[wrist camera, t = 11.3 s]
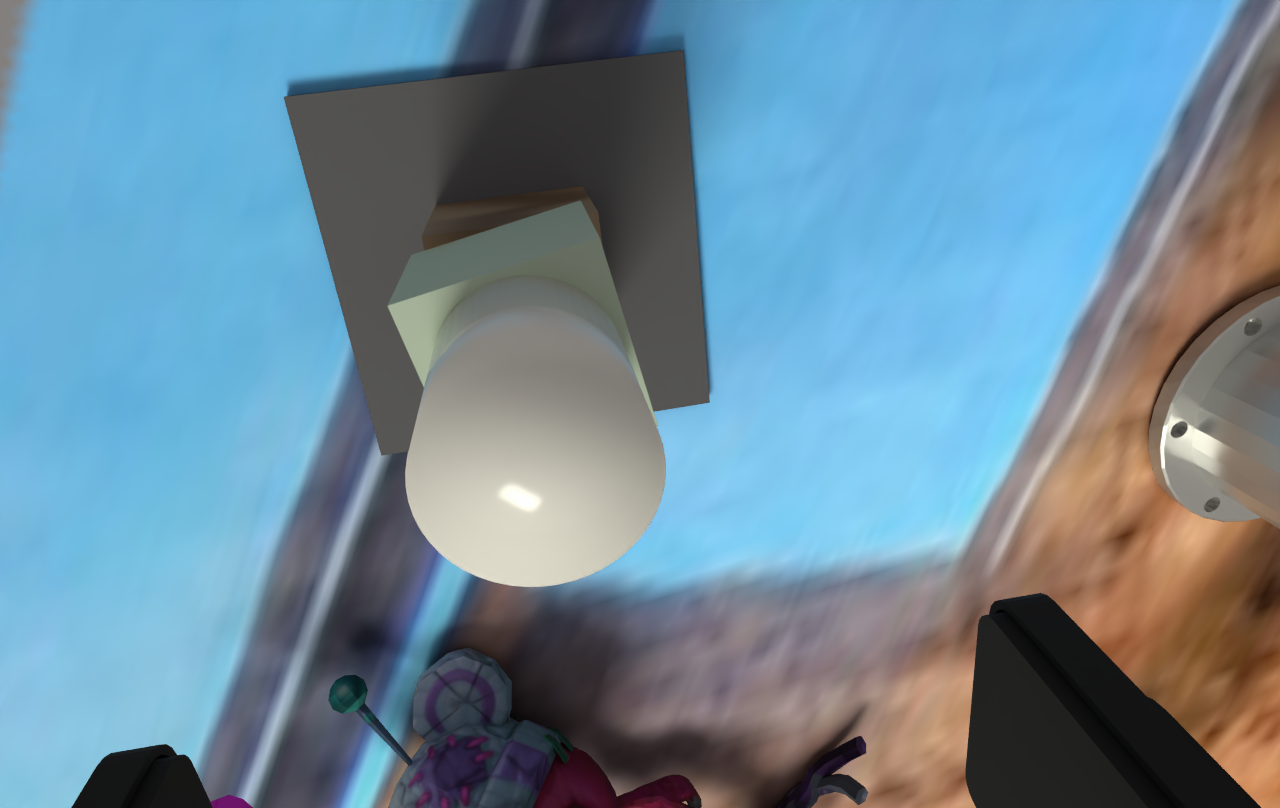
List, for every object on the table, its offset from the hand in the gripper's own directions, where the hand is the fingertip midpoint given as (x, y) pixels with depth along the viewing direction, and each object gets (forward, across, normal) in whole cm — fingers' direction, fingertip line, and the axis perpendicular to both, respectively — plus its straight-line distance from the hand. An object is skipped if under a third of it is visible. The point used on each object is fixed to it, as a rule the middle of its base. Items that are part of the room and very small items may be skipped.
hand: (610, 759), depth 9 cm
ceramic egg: (+13, +1, 0) cm, 13 cm away
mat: (+24, +1, 0) cm, 24 cm away
